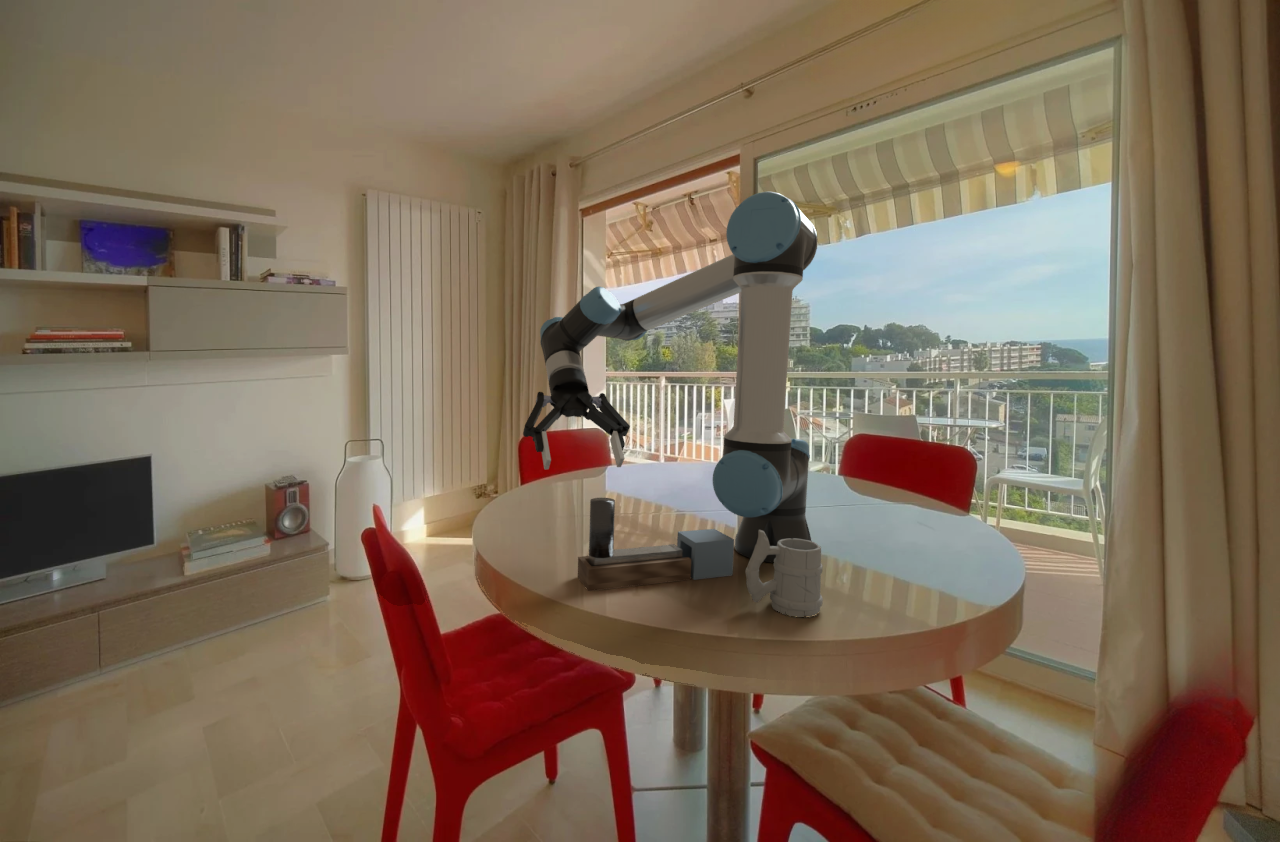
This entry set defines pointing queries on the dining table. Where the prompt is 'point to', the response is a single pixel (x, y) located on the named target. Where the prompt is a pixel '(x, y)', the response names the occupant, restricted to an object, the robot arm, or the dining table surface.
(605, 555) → the l-shaped peg bar
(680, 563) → the walnut channel
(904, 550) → the dining table surface
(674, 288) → the robot arm
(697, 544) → the socket block
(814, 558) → the mug
